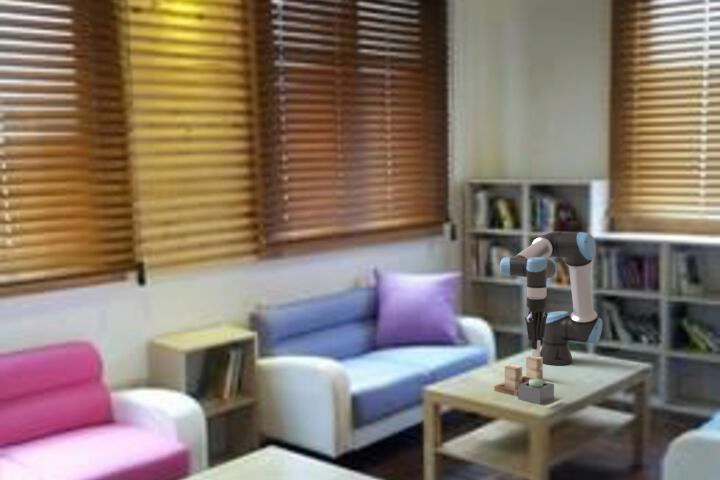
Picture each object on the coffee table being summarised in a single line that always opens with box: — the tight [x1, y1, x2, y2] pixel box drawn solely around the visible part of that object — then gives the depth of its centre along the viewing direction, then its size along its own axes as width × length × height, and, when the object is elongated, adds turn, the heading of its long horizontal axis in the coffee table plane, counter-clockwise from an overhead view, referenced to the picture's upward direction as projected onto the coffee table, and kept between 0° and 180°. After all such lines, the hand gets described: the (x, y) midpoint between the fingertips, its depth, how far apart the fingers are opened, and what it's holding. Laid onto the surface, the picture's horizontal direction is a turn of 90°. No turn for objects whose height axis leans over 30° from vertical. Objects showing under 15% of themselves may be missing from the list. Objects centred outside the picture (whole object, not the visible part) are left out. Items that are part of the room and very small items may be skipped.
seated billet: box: [504, 364, 523, 390], centre depth 338 cm, size 5×5×10 cm
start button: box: [529, 379, 543, 388], centre depth 326 cm, size 6×6×3 cm
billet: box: [525, 355, 544, 380], centre depth 356 cm, size 5×5×10 cm
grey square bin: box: [517, 381, 555, 406], centre depth 326 cm, size 10×10×7 cm
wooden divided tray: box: [493, 375, 545, 397], centre depth 341 cm, size 20×11×3 cm, turn 135°
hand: (536, 356), depth 325 cm, fingers closed
